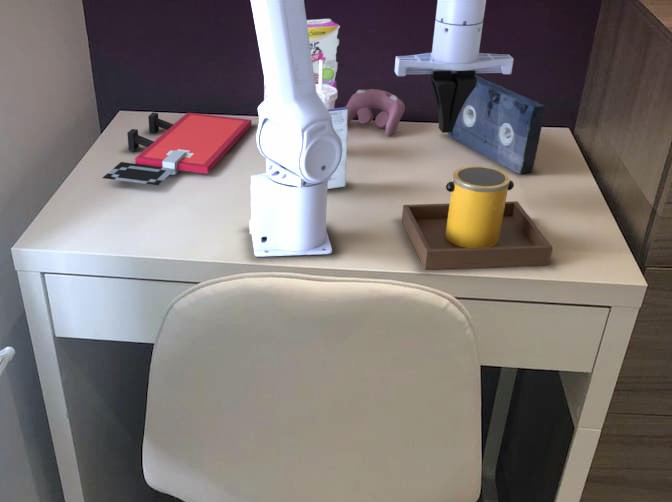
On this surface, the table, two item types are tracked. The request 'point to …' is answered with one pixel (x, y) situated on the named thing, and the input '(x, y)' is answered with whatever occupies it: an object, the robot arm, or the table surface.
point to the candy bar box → (323, 50)
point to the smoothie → (326, 90)
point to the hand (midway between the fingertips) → (445, 130)
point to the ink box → (341, 129)
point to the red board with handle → (180, 147)
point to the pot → (476, 206)
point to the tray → (511, 250)
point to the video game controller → (378, 100)
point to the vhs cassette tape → (500, 125)
